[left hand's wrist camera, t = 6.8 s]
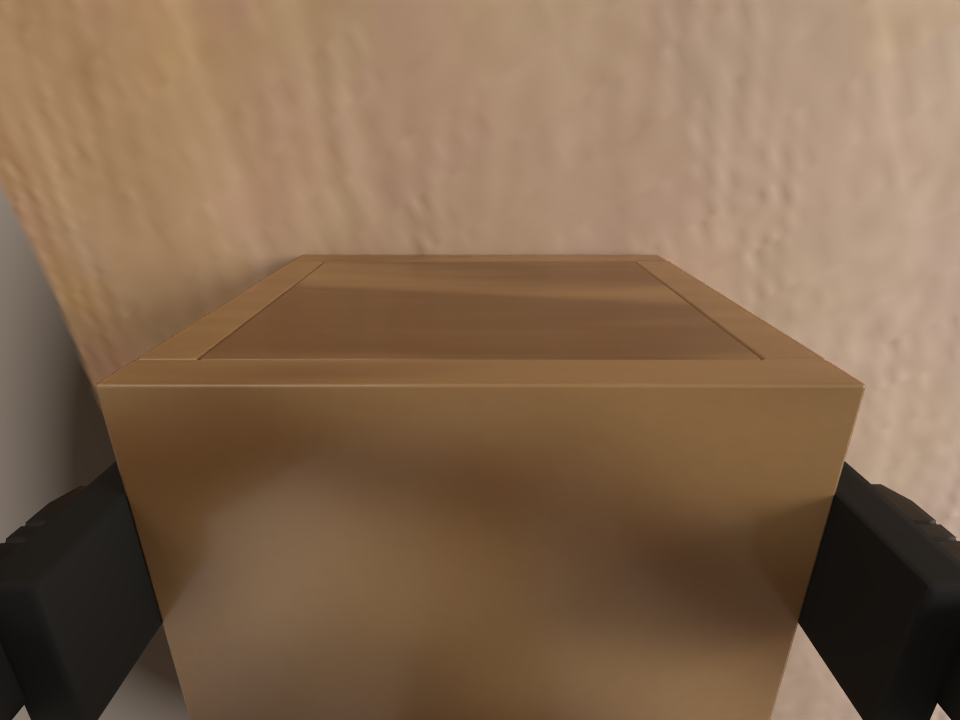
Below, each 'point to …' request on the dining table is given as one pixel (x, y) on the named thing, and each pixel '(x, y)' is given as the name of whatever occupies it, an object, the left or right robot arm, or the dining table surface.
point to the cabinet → (480, 491)
